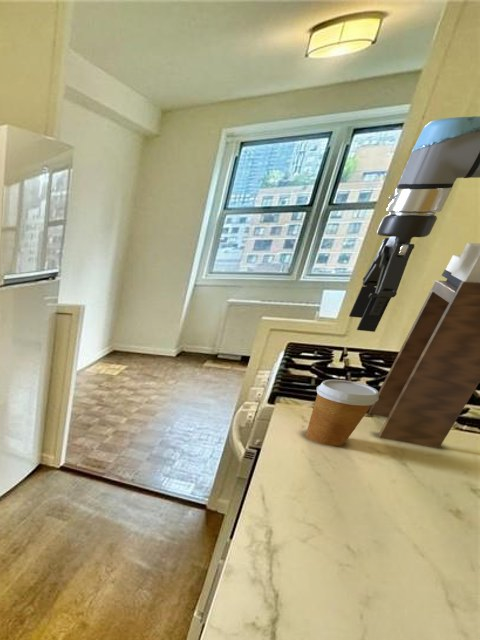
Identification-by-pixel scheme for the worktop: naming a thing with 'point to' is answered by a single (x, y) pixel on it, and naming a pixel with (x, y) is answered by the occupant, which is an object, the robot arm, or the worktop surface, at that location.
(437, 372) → the tall wooden cabinet
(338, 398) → the disposable coffee cup
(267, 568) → the worktop surface
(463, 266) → the white block dark base
